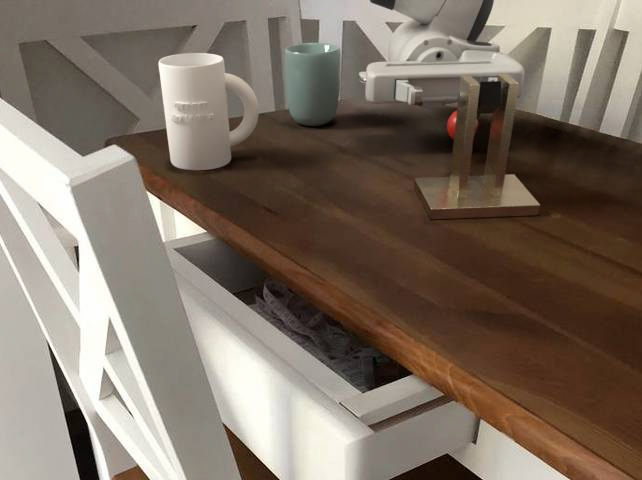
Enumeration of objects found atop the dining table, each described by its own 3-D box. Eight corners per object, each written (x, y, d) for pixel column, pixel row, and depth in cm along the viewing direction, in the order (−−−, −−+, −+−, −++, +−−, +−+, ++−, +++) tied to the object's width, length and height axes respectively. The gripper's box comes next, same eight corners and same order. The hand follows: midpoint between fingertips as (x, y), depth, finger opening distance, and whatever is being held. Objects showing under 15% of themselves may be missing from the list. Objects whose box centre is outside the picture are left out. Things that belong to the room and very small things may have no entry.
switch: (444, 145, 89) (443, 114, 89) (473, 144, 89) (472, 113, 89) (473, 112, 76) (473, 75, 76) (508, 111, 76) (508, 74, 76)
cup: (348, 120, 111) (350, 45, 105) (321, 133, 106) (321, 56, 100) (305, 113, 114) (304, 40, 108) (276, 125, 109) (274, 50, 103)
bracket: (413, 187, 88) (423, 69, 80) (512, 184, 88) (531, 66, 80) (430, 219, 80) (442, 92, 72) (538, 215, 81) (562, 88, 73)
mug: (263, 168, 94) (258, 64, 87) (169, 172, 93) (156, 68, 86) (259, 148, 101) (254, 50, 93) (171, 152, 100) (159, 54, 92)
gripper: (357, 46, 97) (371, 70, 87) (509, 43, 98) (541, 66, 88) (355, 98, 101) (369, 126, 91) (501, 94, 102) (531, 122, 92)
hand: (455, 97), depth 89 cm, fingers open, 8 cm apart
